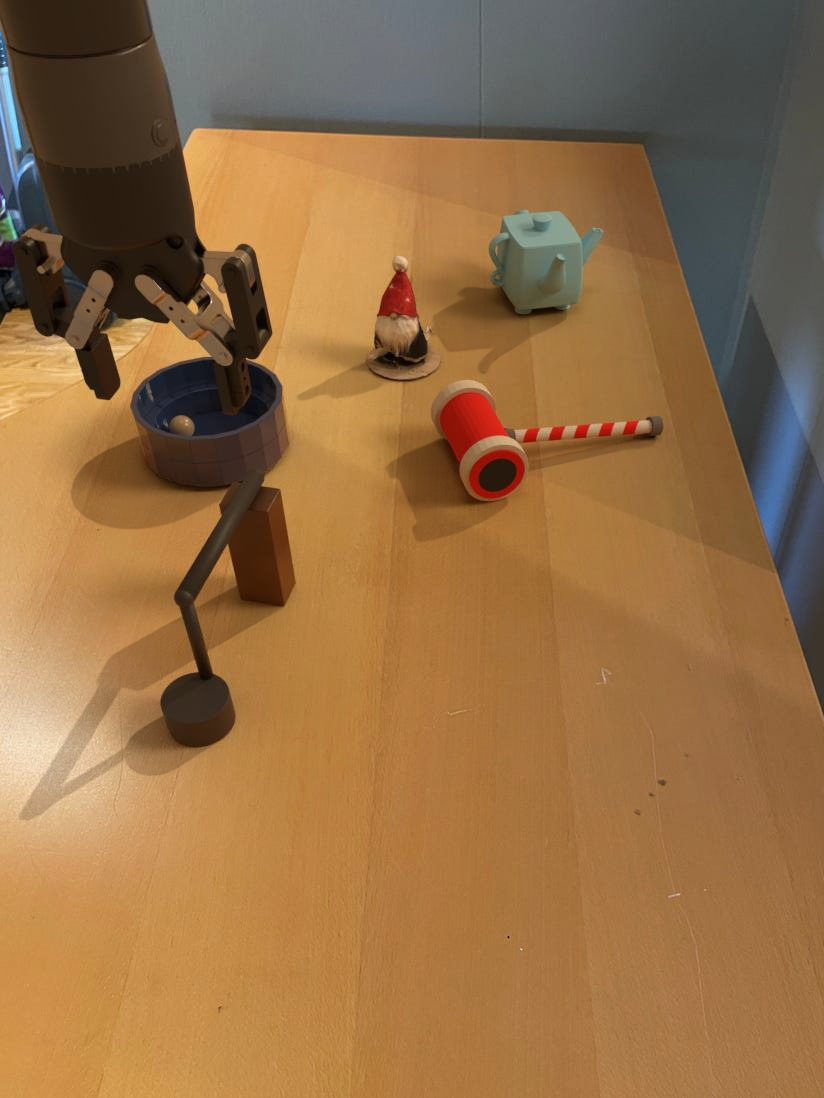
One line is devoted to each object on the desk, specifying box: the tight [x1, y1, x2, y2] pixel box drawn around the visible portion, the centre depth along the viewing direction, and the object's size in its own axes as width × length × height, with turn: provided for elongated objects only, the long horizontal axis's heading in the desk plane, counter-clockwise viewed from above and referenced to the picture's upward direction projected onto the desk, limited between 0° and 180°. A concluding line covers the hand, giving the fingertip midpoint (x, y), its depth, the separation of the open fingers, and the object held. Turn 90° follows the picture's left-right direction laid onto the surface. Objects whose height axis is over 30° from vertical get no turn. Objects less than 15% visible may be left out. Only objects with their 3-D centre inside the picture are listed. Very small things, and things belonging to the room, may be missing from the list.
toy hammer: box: [430, 379, 664, 502], centre depth 95 cm, size 23×12×6 cm, turn 108°
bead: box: [169, 415, 195, 436], centre depth 96 cm, size 2×2×2 cm
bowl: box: [129, 356, 290, 488], centre depth 95 cm, size 14×14×6 cm
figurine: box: [366, 255, 442, 381], centre depth 107 cm, size 8×10×12 cm
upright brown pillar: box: [218, 482, 297, 607], centre depth 79 cm, size 4×3×10 cm
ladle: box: [159, 469, 265, 748], centre depth 74 cm, size 19×5×12 cm, turn 168°
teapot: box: [488, 209, 604, 315], centre depth 116 cm, size 18×14×10 cm
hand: (171, 400), depth 63 cm, fingers open, 8 cm apart
